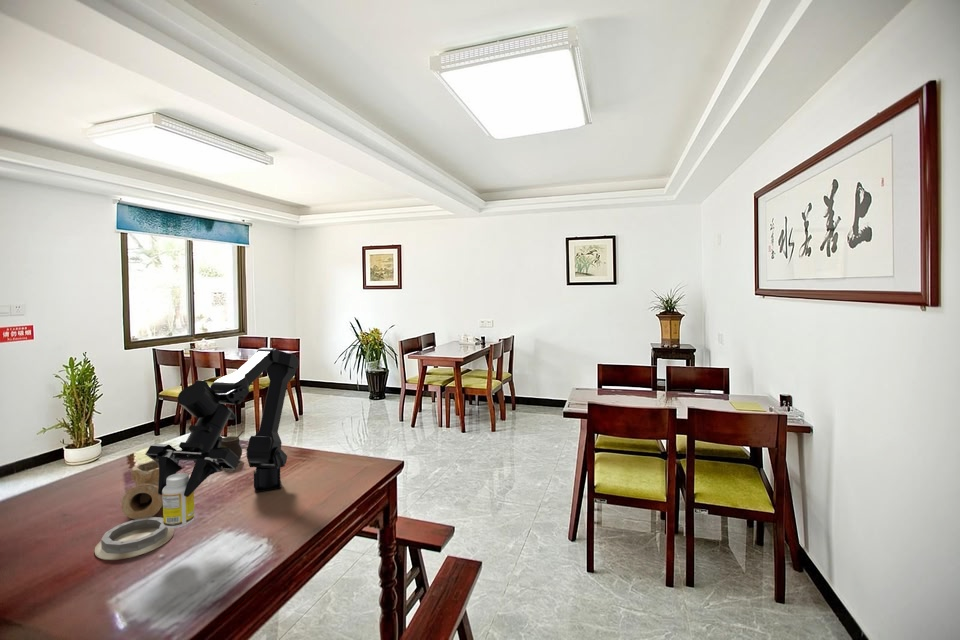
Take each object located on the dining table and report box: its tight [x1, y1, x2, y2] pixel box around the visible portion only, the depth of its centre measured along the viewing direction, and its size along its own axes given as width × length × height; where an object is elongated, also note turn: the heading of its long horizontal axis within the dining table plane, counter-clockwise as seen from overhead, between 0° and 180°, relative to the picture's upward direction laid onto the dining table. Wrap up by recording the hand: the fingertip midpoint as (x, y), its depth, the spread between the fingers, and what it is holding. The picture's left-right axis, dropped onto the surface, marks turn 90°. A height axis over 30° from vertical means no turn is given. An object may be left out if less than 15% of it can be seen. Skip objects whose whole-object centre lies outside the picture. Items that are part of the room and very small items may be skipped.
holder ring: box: [94, 516, 175, 561], centre depth 100 cm, size 14×14×3 cm
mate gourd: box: [220, 430, 244, 461], centre depth 146 cm, size 7×8×10 cm
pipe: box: [121, 460, 163, 520], centre depth 115 cm, size 9×16×10 cm, turn 25°
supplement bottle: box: [162, 472, 196, 529], centre depth 95 cm, size 6×6×10 cm
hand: (172, 495), depth 94 cm, fingers closed on supplement bottle, 5 cm apart
